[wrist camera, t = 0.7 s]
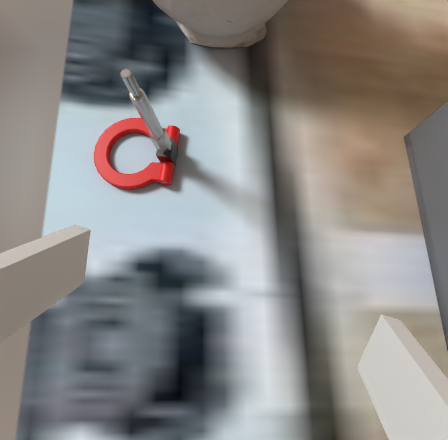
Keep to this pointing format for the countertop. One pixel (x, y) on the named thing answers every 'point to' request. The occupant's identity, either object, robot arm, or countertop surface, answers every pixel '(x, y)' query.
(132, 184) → the tow hook
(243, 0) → the ceramic pitcher
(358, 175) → the countertop surface
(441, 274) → the open box
